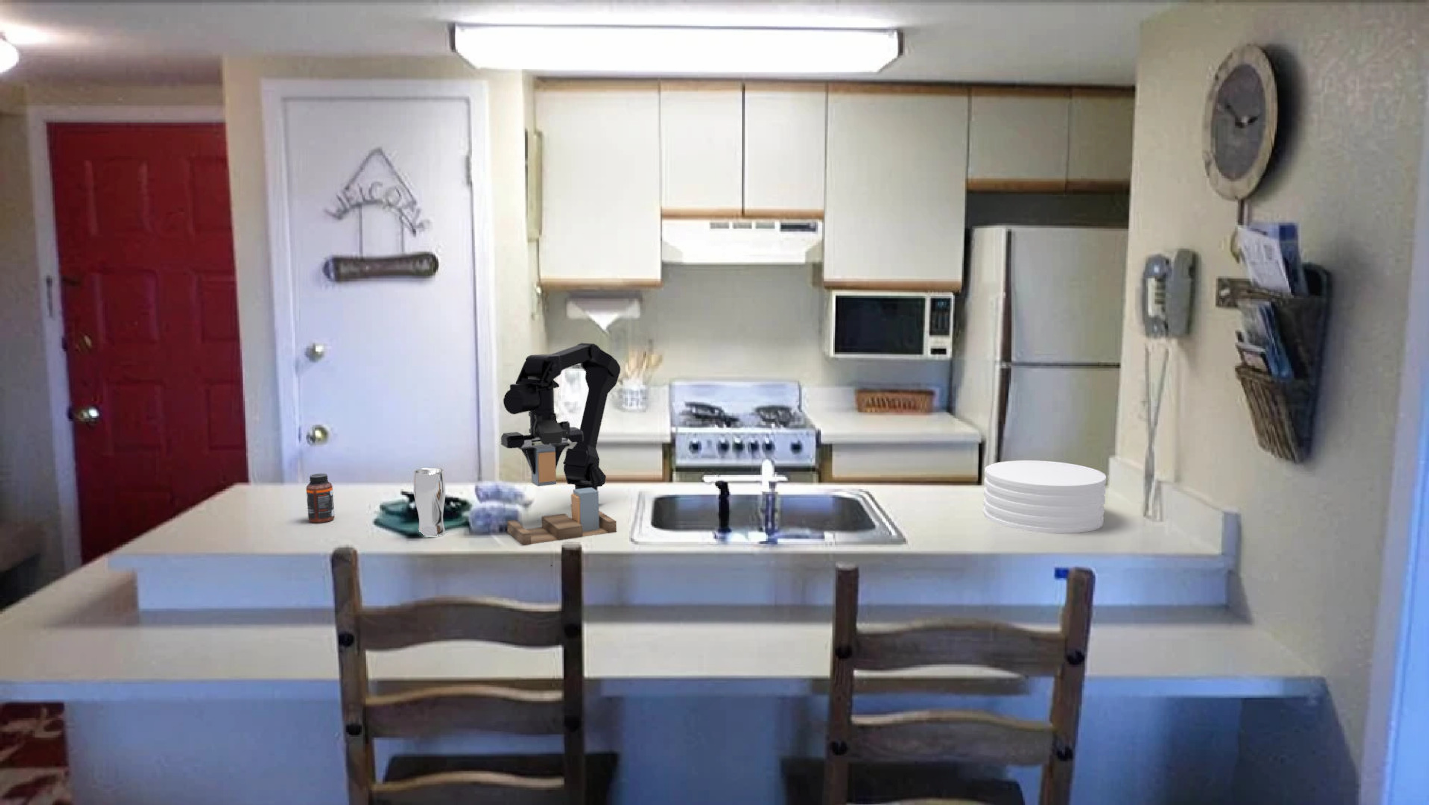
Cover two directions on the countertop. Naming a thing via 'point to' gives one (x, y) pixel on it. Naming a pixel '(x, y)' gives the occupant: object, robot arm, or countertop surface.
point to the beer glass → (430, 500)
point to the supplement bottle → (320, 499)
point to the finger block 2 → (586, 508)
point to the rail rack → (558, 529)
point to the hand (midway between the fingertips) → (543, 473)
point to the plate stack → (1044, 496)
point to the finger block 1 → (544, 465)
